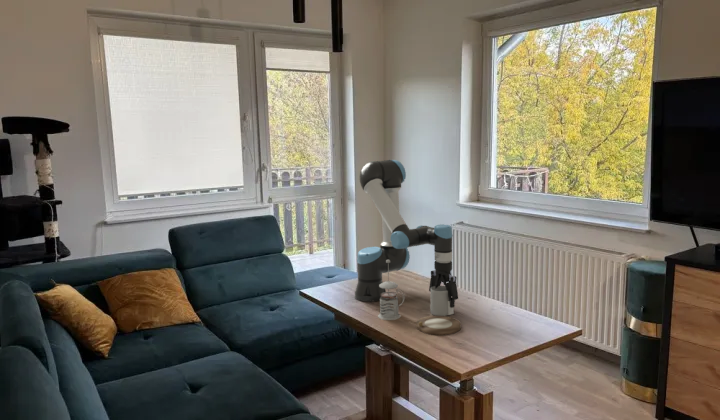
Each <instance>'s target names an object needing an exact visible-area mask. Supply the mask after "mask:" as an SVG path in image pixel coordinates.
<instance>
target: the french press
mask: <svg viewBox="0 0 720 420" xmlns="http://www.w3.org/2000/svg"><path fill="white" fill-rule="evenodd" d="M386 263H390V260H386ZM389 273H390V272H389V264H388V272H387V277H388V278H387V279H388V281H382V282H383V283H381V284H380V285H379V287H380V288H382V289H385V290H387V291H386V292H383V293H381V297H380V300H379V314H378V315H377V317H378V319H380V320H384V321H395V320H398V319H400V318H401V314H400V313H399V312H400V311H399V307H400V306H402V305H403V304H404V302H405V293H404V291H403V290H402V289H400V288H398V286H399V284H398V283H396V282H395V281H391V280H390V277H389ZM396 288H397V292H401V296H402V302H401V303H399V297H398V293H397V292H394V291H390V290H394V289H396Z"/></svg>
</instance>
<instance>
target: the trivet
mask: <svg viewBox="0 0 720 420" xmlns="http://www.w3.org/2000/svg"><path fill="white" fill-rule="evenodd" d="M415 327H416V329H417V331H420V332H421V333H424V334H426V335H427V334H428V335H431V336H432V335H433V336H447V335H449V336H450V335H452V334H456V333H458V332H459V331H461V328H462V323H461V321H460V320H458V319H456V318H454V317H450V316H448V315H447V316H435V315H428V316H424V317H423V316H422V317H421V318H419V319H417V320H416V322H415Z"/></svg>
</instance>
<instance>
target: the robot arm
mask: <svg viewBox="0 0 720 420" xmlns="http://www.w3.org/2000/svg"><path fill="white" fill-rule="evenodd" d="M405 169H406V168H405V166H404V165H403V164H402V163H401V162H400V161H399V160H397V159H386V160H374V161H373V160H372V161H369V162H367V163H365V164H364V165H363V166H362V168H361V169H360V171H359V183H360V186H361V189H362V191H363V192H364V193H365V194H367V195H368V196H369V197H370V200H371V201H372V203H373V204H374V206H375V208H376V209H377V211H378V213H379V214H380V216H381V221H382V222H381V224H382V226H381V227H382V228H381V229H382V241H381V243H380V245H379V246H367V247H364V248H361V249H360V250H359V251H358V252H357V259H356V262H357V265H356V266H357V284H356V286H355V291H354V298H355V299H356V300H358V301H362V302H377V301H378V302H380V297H381V293H383V292H387V291H386V290H387V289H382V288H380V287H379V285H380V284H381V283H383V282H384V281H383V274H386V273H387V274H388V264H389V273H391V272H395V271H399V270H403V269H405V268H406V267H407V266H408V265H409V262H410V256H411V255H410V251H409V250H408V249H409V248H412V247H417V246H418V247H419V246H423V245H430V246H431V245H432V246H434V249H433V250H434V266H433V267H434V268H433V269H434V270H431V271H430V279H429V280H430V281H429V288H428V291H429V293H431V287H434V286H435V289H436V288H437V287H438V286H442V284H443V286H445V287H446V290H447V291H448V297H449V300H448V315H447V316H451V315H454V314H455V312H454V311H455V310H454V308H455V302H454V301H456V300H459V294H458V293H459V292H458V286H457V276H455V275H454V276H453V275H452V273H451V271H452V270H453V236H454V235H453V227H452V225H449V224H445V223H444V224H435V226H434V227H432V226H428V225H419V226H417V227H415V228H410V227H409V226H408V224H407V223H406V222H405V220H404V218H403V216H402V215H401V213H400V200H399V191H400V190H401V188H402V184H403V183H404V182H405V180H406V176H407V175H406V173H407V172H406V170H405ZM386 260H390V263H386Z"/></svg>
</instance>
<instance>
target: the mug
mask: <svg viewBox="0 0 720 420" xmlns="http://www.w3.org/2000/svg"><path fill="white" fill-rule="evenodd" d="M448 300H449V297H448V291H447V290H446V287H445V285H440V286H438V287H437V288H436V289H435V286H434V287H431V292H430V309H429V310H430V314H431V316H447V317H448V316H449V315H448ZM455 301H456V300H455ZM455 301H454V303H455Z"/></svg>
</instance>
